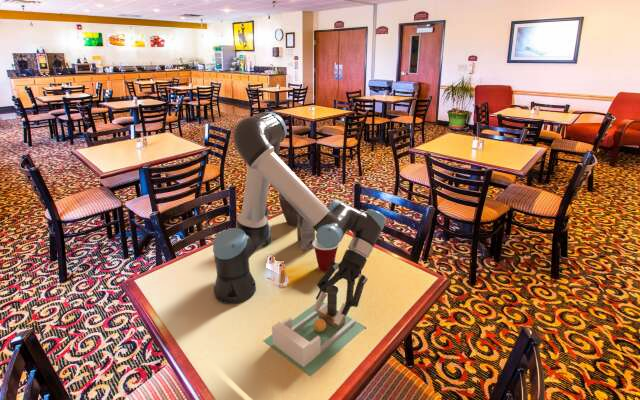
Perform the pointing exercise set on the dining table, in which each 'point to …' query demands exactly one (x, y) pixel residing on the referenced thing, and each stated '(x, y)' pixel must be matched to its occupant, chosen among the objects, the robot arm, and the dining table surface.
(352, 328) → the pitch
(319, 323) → the ball
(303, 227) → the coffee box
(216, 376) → the dining table surface
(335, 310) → the rubber stamp
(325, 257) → the plastic cup
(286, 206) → the plant pot
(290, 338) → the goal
